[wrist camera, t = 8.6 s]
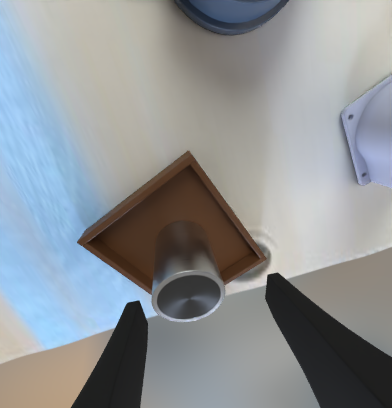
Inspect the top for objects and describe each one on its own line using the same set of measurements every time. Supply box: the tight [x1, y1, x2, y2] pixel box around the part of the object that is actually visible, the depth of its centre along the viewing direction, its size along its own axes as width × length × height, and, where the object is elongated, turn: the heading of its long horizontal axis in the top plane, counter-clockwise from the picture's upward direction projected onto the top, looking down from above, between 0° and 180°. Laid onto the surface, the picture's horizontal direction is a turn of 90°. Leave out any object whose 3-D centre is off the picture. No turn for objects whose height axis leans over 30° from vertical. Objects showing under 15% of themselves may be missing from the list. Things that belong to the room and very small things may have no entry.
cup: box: [152, 221, 225, 322], centre depth 17 cm, size 6×6×7 cm
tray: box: [77, 151, 267, 295], centre depth 20 cm, size 15×13×2 cm
